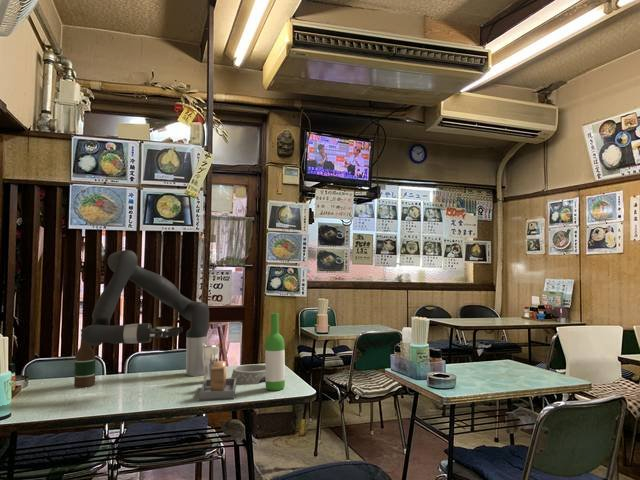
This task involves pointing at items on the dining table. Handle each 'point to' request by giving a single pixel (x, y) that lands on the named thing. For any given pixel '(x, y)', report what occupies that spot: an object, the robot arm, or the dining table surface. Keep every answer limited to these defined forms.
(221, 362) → the terracotta jar
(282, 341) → the wine bottle
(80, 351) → the beer bottle
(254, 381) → the dog bowl
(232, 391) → the tote
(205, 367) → the beer glass
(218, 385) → the walnut block
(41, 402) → the dining table surface
